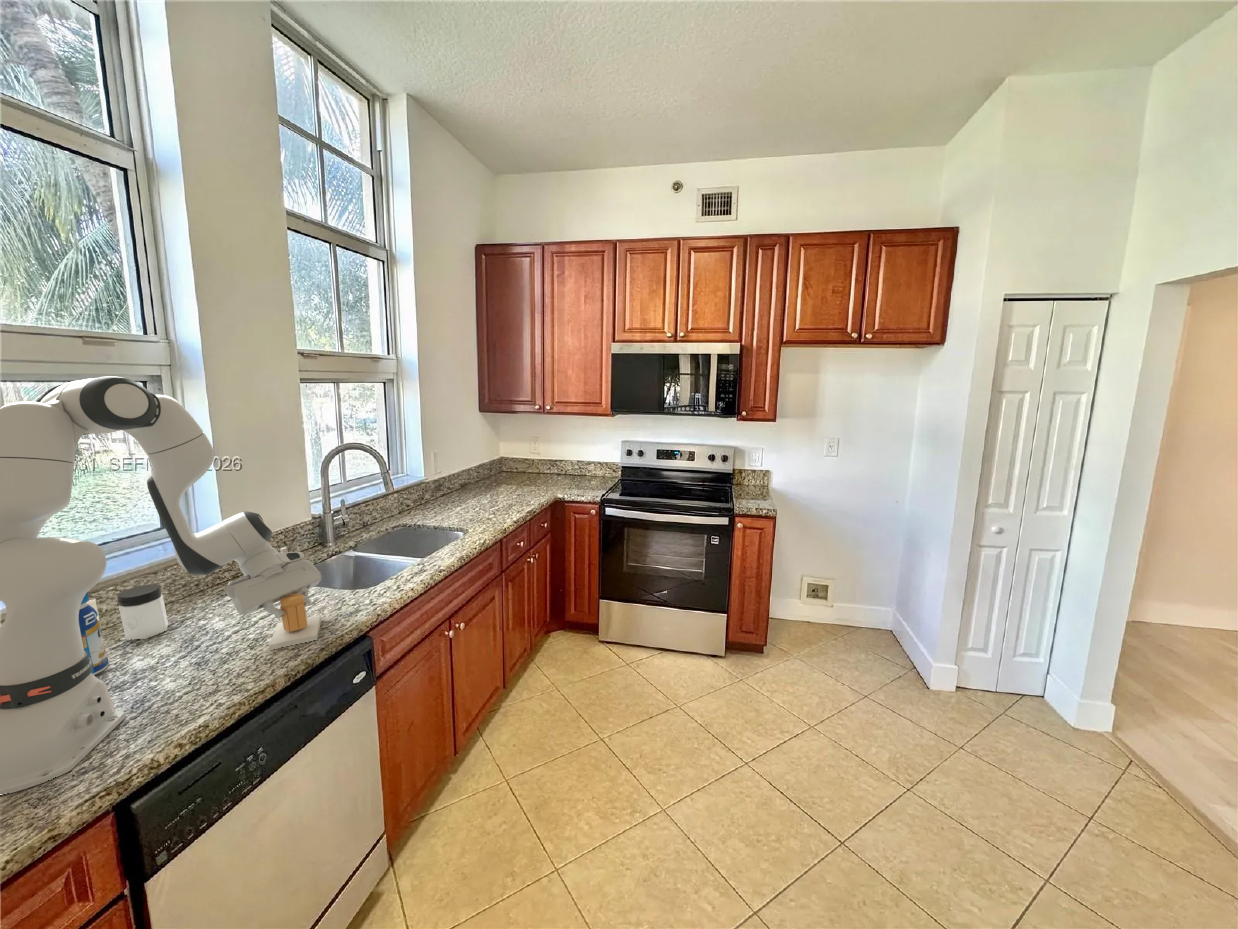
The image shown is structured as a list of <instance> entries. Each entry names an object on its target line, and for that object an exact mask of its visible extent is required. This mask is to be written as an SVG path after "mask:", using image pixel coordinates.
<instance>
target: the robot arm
mask: <svg viewBox="0 0 1238 929" xmlns="http://www.w3.org/2000/svg"><path fill="white" fill-rule="evenodd" d="M120 431H122V432H124V433H126V434H128V435H130V436H132V438H134V440H135V441H137V442H138V444H139V446H140V447H141V449H142V450H143V451H144V453H145V454H146V456H147V457H148V459H149V462H150V464H151V469H152V470H151V475H150V476H149V477H148V478H147V479H146V485H147V490H148V493H149V495H150V497H151V499H152V502H153V505H154V507H155V509H156V511H157V514H158V516H159V518H160V520H161V522H162V524H163V526H164V528H165V530H166V533H167V535H168V536H169V538H170V540H171V542H172V545H173V549H174V550H173V551H174V553H175V554H174V555H175V558H176V561H177V563H178V564H179V566H180V567H181V568H182V570H183V571H185V572H186V573H188V574H189V575H193V576H208V575H211V574H212V573H214V572H215V571H217V570H219V569H220V568H222V567H223V566H225V565H227V564H228V563H230V562H232V561H236V563H237V564H238V566H239V570H240V571H241V572H242V574H243V576H242V577H240V578H237V579H236V580H235V579H234V580H232V581H229V582H228V584H227V585H225V587H224V591H225V593H226V594H227V597H228V598H231V601H232V604H233V606H234V608H235V609H236V611H237V613H238V614H239V615H242V616H247V615H249V614H251V613H253V612H256V611H258V610H261V609H264V611H265V612H266V613H270V614H272V615H274V616H275V618H276V619H282V617H283V616H284V615H285V614H286V613H285V611H284V610H283V608H278V607H277V606H276V607H275V606H274V604H276V603H278V602H280V599H281V598H283V597H285V596H287V595H291V594H297V593H299V594H303V598H304V602H305V607H307V606H310V604H311V603H312V601H311V599H310V598H309V589H312V588H314V587H316V586H318V585H319V583H320V582H321V580H322V574H321V572H320V571H319V570H318V568H317V567H316V566H315V565H314V564H313V563H312V562H311V560H308V559H305V555H304V553H303V552H302V551H293V552H292V551H289V552H288V551H287V552H281V551H280V552H279V551H278V549H276V548H275V547H274V546H272V545H271V542H270V541H271V539H272V534H273V531H272V530H271V529H270V528H269V527H268V526H267V525H266V523H265V521H264V519H263V518H262V516H261V514H260V513H258V512H257V513H256V512H252V511H247V510H246V511H242V512H238V513H236V514H234V515H231V516H230V517H228V518H225V519H223V520H222V521H220V522H217V523H215V524H213V525H211V526H209V527H208V528H205V529H203V530H201V531H198V532H193V531H192V530H191V528H190V526H189V524H188V522H187V519H186V518H185V515H184V512H183V510H182V508H181V505H180V503H181V500H182V497H183V495H184V494H186V492H187V490H188V489H189V488H191V487H192V486H193V485H194V484H195V483H196V482H197V481H199V480H200V479H201V478H202V477H203V476H204V475H205V474H206V473H207V472H208V471H209V469H210V468H211V466H212V464H213V462H214V460H215V451H214V450H215V449H214V447H213V446H212V444H211V441H210V440H209V439H208V436H207V435H206V434H205V432H204V431H203V428H202V427H201V426H200V425H199V424H198V422H197V421H196V420H195V419H194V417H193V416H192V415H191V413H189V411H188V410H186V409H185V407H184V406H182V405H181V404H180V403H179V402H178V400H176V399H175V398H173V397H171V396H168V395H165V394H154V393H152V392H150V391H149V390H148V389H147V388H146V387H145V386H143V385H142V384H140V383H139V382H137V381H135V380H132V379H130V378H127V377H122V376H114V375H113V376H112V375H105V376H99V377H95V378H81V379H76V380H73V381H70V382H67V383H63V384H59V385H56V386H53V387H52V388H50V389H48V390H47V391H45V392H44V393H43V394H42V395H41V396H40V397H39V398H38V399H37V400H36V401H17V402H11V403H8V404H5V405H2V406H1V407H0V602H3V604H4V605H5V612H6V613H5V620H4V623H3V624H1V625H0V794H5V793H9V794H12V793H13V794H14V793H15V792H19V791H22V790H26V789H29V788H32V787H35V786H38V785H41V784H43V783H47V782H49V781H52V780H53V778H54V779H56V778H58V777H60V776H62V775H64V774H66V773H68V772H71V770H72V769H74V768H75V767H76V766H77V765H79V763H80V762H81V761H82V760H83V759H84V758H86V757H87V755H88V754H89V753H91V751H93V749H94V748H95V747H96V746H98V745H99V744H100V743H101V742H102V741H103V740H104V739H105V738H106V737H107V736H108V735H110V733H111V732H112V731H113V730H114V729H115V728H116V727H117V726H118V725H120V724H121V723H122V722H123V721H124V719H125V718H126V714H125V711H122V710H117V709H115V706H114V704H113V700H112V698H111V694H110V693H109V692H110V691H109V690H108V686H107V685H106V682H105V681H104V680H101V679H99V678H98V677H96V675H93V674H92V673H91V672H92V665H91V663H92V662H91V658H90V657H89V654H88V653H87V652H85V651H84V647H83V642H82V638H81V632H80V627H79V609H80V605H81V602H82V600H83V598H84V596H85V594H86V593H87V592H88V593H89V591H90V590H92V589H93V588H94V587H95V586H96V585H97V584H98V583H100V581H101V580H102V579H103V577H104V574H105V572H106V569H107V564H108V563H107V557H106V554H105V552H104V550H103V549H102V548H101V547H100V546H99V545H98V544H97V543H95V542H92V541H89V540H83V539H78V538H71V537H64V536H51V537H50V536H49V537H38V536H39V533H40V532H41V529H42V528H43V527H44V525H45V524H46V522H47V521H48V520H49V519H50V518H52V517H53V516H54V515H56V514H58V513H60V512H61V511H63V510H65V508H67V506H68V505H69V504H70V502H71V500H72V499H71V498H72V489H73V478H74V470H75V463H76V462H75V460H76V448H77V445H78V442H79V441H80V439H81V437H82V436H88V435H94V434H95V435H101V434H102V435H103V434H105V435H106V434H110V433H116V432H120ZM55 777H56V778H55ZM48 780H49V781H48Z"/></svg>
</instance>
